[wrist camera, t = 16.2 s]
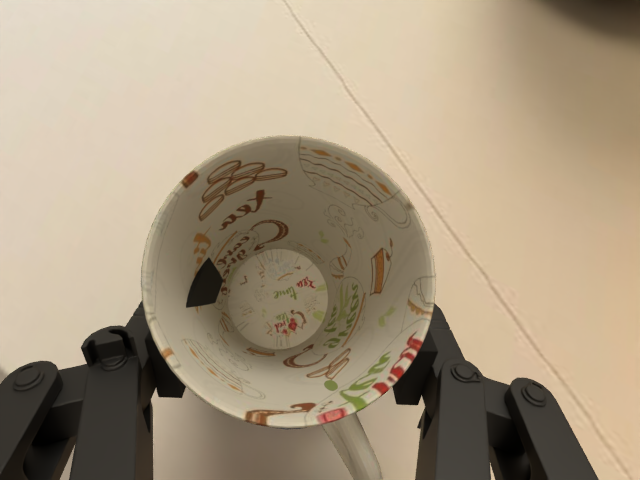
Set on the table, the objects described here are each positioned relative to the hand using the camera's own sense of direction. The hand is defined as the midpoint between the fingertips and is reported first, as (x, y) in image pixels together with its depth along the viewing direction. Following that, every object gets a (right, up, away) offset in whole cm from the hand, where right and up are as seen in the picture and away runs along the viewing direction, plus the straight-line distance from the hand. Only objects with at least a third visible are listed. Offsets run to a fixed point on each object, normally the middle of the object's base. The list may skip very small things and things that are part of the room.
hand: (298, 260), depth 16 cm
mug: (0, -4, +3) cm, 5 cm away
